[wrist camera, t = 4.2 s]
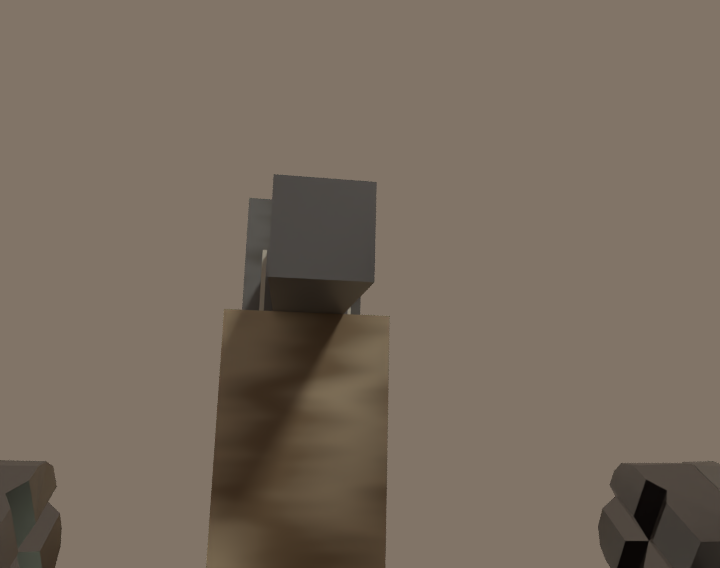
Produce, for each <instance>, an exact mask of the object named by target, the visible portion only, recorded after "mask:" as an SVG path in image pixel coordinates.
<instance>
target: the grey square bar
mask: <svg viewBox="0 0 720 568" xmlns="http://www.w3.org/2000/svg"><path fill="white" fill-rule="evenodd" d="M375 225H376V182H368V181H354V180H341V179H328V178H314V177H302V176H288V175H275V174H274V179H273V197H272V215H271V232H270V249H267V250H263V253H262V270H261V287H260V304H259V310H260V311H283V312H306V313H330V314H351V306H352V305H353V304H354V303H355V302H356V301H357V300H358V299H359V298H360V297H361V295H362V294H363V293H364V292H365V291H366V290H367V289H368V288H369V287H370V286H371V285H372V284H373V283H374V271H375V267H374V266H375V227H376V226H375Z"/></svg>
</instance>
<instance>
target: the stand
mask: <svg viewBox="0 0 720 568" xmlns="http://www.w3.org/2000/svg"><path fill="white" fill-rule="evenodd" d="M271 215H272V200H270V199H255V198H250V199H249V213H248V228H247V244H246V260H245V276H244V290H243V307H242V310H236V309H224V320H223V335H222V348H221V364H220V377H219V391H218V405H217V420H216V434H215V448H214V463H213V477H212V491H211V506H210V520H209V534H208V548H207V564H206V568H385V553H386V552H385V551H386V496H387V493H386V492H387V438H388V437H387V436H388V434H387V432H388V380H389V379H388V378H389V377H388V375H389V319H390V318H389V317H390V316H375V315H360V298H359V299H358V300H357V301H356V302H355V303H354V304H353V305H352V306H351V314H330V313H306V312H283V311H260V310H259V304H260V287H261V270H262V253H263V250H267V249H270V232H271Z"/></svg>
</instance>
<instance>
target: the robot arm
mask: <svg viewBox="0 0 720 568" xmlns="http://www.w3.org/2000/svg"><path fill="white" fill-rule="evenodd" d="M610 486H611V488H612V490H613V492H614V494H615V497H614V498H613V499H612V500H611V501H610V502H609V503H608V504H607V505H606V506H605V507H604V508H603V509H602V513H601V517H600V521H599V525H598V529H599V539H600V546H601V549H602V551H603V554H604V557H605V559H606V561H607V563H608V564H609V566H610V568H720V464H719V463H716V462H713V461H708V462H682V463H621V464H620V465H619V466H618V467H617V469H616V470H615V471H614V473H613V476H612V479H611V483H610ZM56 487H57V486H56V480H55V474H54V468H53V466H52V465H50V464H49V463H48V462H46V461H5V460H0V568H55V565H56V561H57V557H58V553H59V549H60V544H61V529H62V528H61V520H60V513H59V512H58V511H57V510H56V509H55V508H54V507H53V506H52V505H51V504H50V503H49V502H48V501H49V499H50V497H51V496H52V493H53V492H54V490H55V489H56Z"/></svg>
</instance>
